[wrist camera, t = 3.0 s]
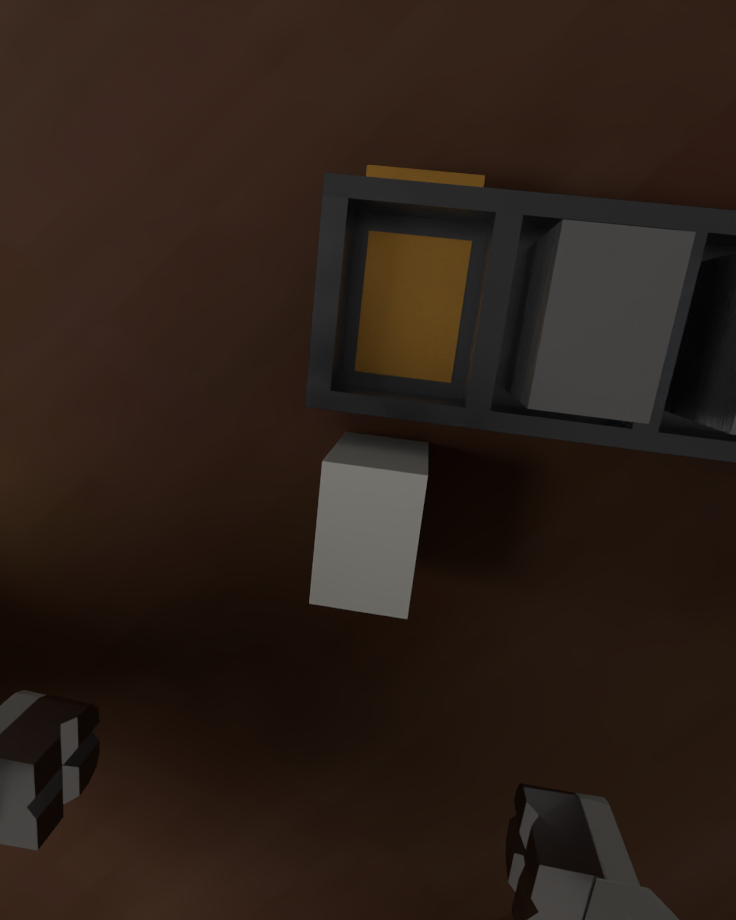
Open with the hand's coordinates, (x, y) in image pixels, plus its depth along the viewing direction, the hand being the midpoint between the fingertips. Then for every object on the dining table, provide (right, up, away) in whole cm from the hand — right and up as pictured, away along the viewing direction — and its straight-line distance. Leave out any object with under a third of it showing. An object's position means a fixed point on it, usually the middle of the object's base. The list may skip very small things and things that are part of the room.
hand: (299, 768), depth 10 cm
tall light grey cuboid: (+2, +4, +16) cm, 17 cm away
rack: (+10, +12, +14) cm, 20 cm away
